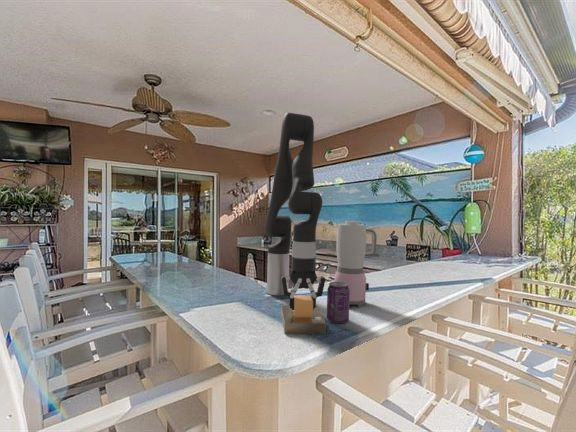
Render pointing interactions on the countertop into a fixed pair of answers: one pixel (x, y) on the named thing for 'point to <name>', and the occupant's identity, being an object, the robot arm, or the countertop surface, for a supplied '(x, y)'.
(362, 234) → the blender
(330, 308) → the beverage can
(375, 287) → the countertop surface
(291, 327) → the socket plate
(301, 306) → the plug
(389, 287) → the countertop surface
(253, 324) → the countertop surface
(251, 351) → the countertop surface
